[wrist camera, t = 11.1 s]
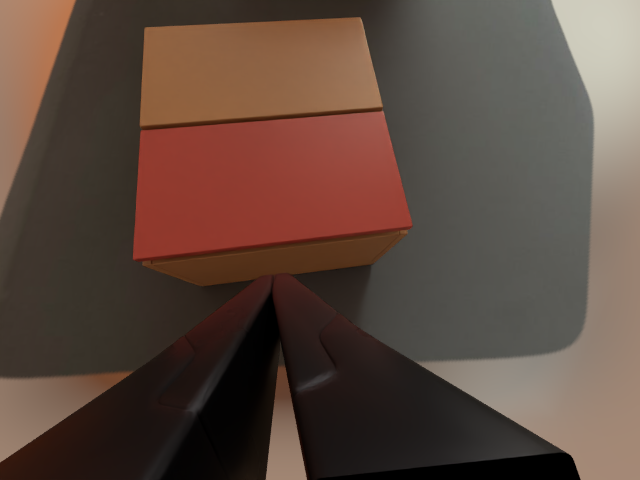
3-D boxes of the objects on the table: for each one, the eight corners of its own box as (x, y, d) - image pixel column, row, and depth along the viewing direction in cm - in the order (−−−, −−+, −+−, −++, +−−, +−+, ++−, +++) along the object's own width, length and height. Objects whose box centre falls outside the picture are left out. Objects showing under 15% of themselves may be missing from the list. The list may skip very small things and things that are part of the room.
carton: (373, 264, 19) (414, 228, 12) (200, 286, 18) (130, 262, 11) (343, 114, 23) (361, 15, 16) (197, 125, 22) (143, 26, 15)
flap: (409, 229, 12) (413, 226, 12) (137, 262, 11) (132, 260, 11) (381, 116, 14) (383, 110, 14) (145, 135, 13) (140, 130, 13)
